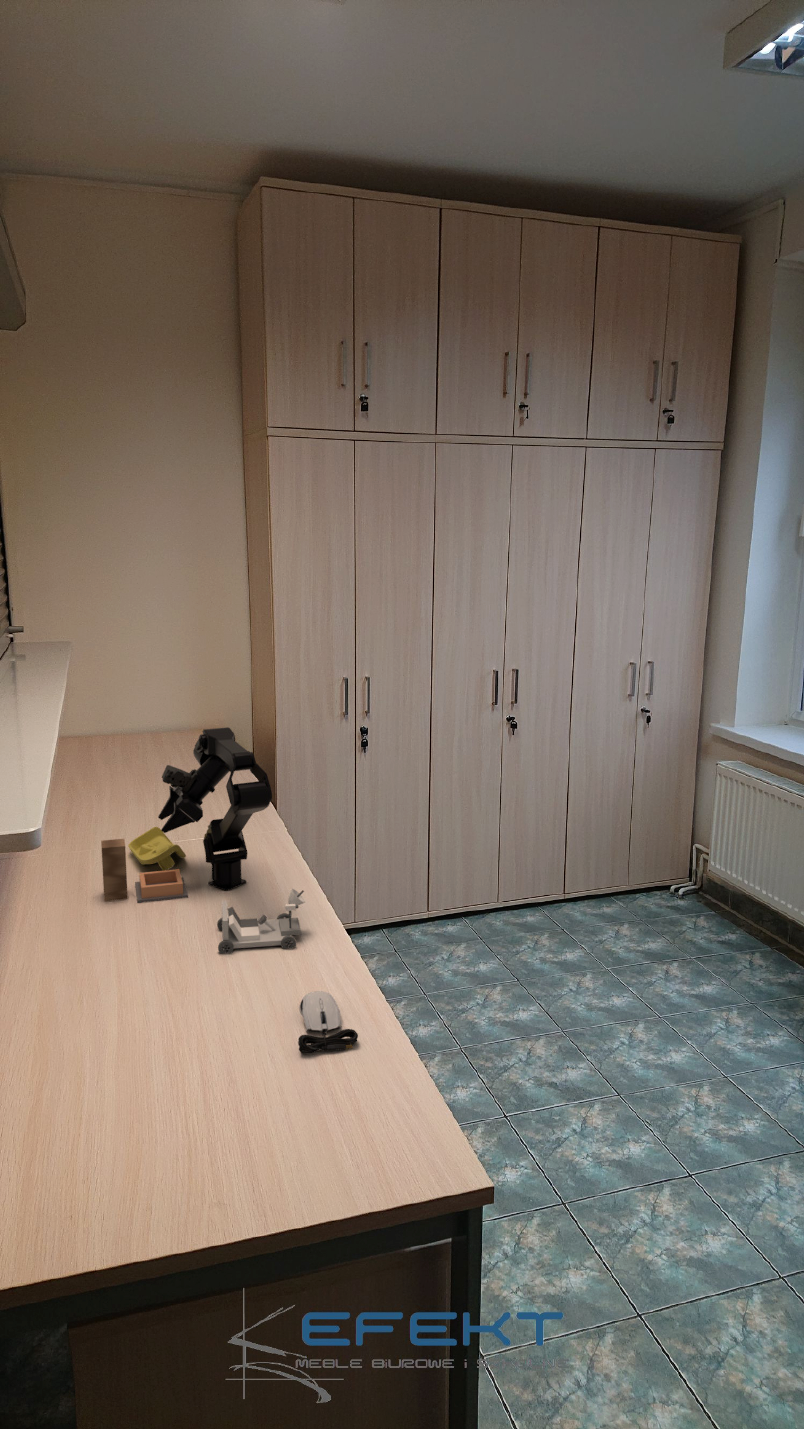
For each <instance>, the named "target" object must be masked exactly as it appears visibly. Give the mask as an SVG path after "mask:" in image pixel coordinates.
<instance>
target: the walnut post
mask: <svg viewBox="0 0 804 1429" xmlns="http://www.w3.org/2000/svg"><path fill="white" fill-rule="evenodd" d="M100 842H101V864H102V880H103V883H102V885H103V901H104V902H109V901H119V900H120V901H121V900H127V899H128V898H129V897H128V877H127V876H128V875H127V856H126V855H127V854H126V841H125V838H116V839H106V840H101V841H100Z"/></svg>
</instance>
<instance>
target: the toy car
mask: <svg viewBox="0 0 804 1429" xmlns="http://www.w3.org/2000/svg"><path fill="white" fill-rule="evenodd" d="M304 892H305V891H304V889H303V890H301V891H300V893H299V891H297V890H296V889H295V888H291V890H290V891H289V895H288V899H287V900H288V903H285V905H284V910H285V912H283V913H280V914H278V916H277V918H276V919H268V916H267V915H265V914H263V915H262V916H260V918H259V919H258V918H242V919H240V917H239V915H238V913H237V912H236V910H235V909H234V907H233V906H231V907H229V908H228V903H227V899H225V900H221V918H219V919H218V921H217V922H216V924H217V926H216V927H217V930H219V931H222V940H221V941H220V942H219V943H218V945H217V946H218V947H217V950H218V951H217V952H219V954H220V955H221V954H222V955H223V954H232V953H233V951H234V950H235V949H242V948H243V949H246V948H257V947H272V946H281V948H282V949H283V950H287V949H295V948H296V946H297V939H296V938H295V937H294V936H298V935H299V936H300V935H302V929H301V925H300V922H299V921H300V920H299V917H292V911H296V910H297V909H299V906H300V905H303V904H305V903H306V900H305V897H303V896H302V894H303V893H304ZM286 912H288V913H286Z"/></svg>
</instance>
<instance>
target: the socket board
mask: <svg viewBox="0 0 804 1429" xmlns="http://www.w3.org/2000/svg"><path fill="white" fill-rule="evenodd" d="M138 877H139V881H135V882H134V885H135V887H134V888H135V892H136V893H135V895H136V900H137V904H139V903H140V904H141V903H149V902H150V903H152V902H159V901H167V900H178V899H180V900H181V899H187V898H189V894H188V889H187V886H186V883H185V877H183V876H182V875H181V872H180V869H179V868H178V869H168V870H165V871H163V870H158V871H157V870H155V871H146V872H139V876H138Z"/></svg>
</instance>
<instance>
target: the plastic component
mask: <svg viewBox="0 0 804 1429" xmlns="http://www.w3.org/2000/svg"><path fill="white" fill-rule="evenodd" d="M161 829H162V828H160V827H159V826H154V827H152V828H150V829H149V830H146V831H145V832H144V833H143V834H140V835H139V836H137V837H135V838H134V839H132V840H131V841H130V842H129V843H128V844H127V846H128V849H129V850H130V852H131V853H132V855H133V856H134V858H136V859H137V861H138V862H139V863H140V864H141V865H142V866H145V865H153V864H156V863H157V864H158V865H159V867H160V869H161V871H165V870H171V868H173V867H174V865H175V864H176V863H175V861H174V859H173V858H172V857H171V855H172V854H173V853H175V854H176V855H177V856H178V857H179V858H180V859H184V858H186V857H187V855H186V853H185V852H184V851H183V849H182V847H181V846H179V844H174V843H173V842H172V841H171V840H170V839H169V837H168V836H167V835H166V833H164V832H162V830H161Z"/></svg>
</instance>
